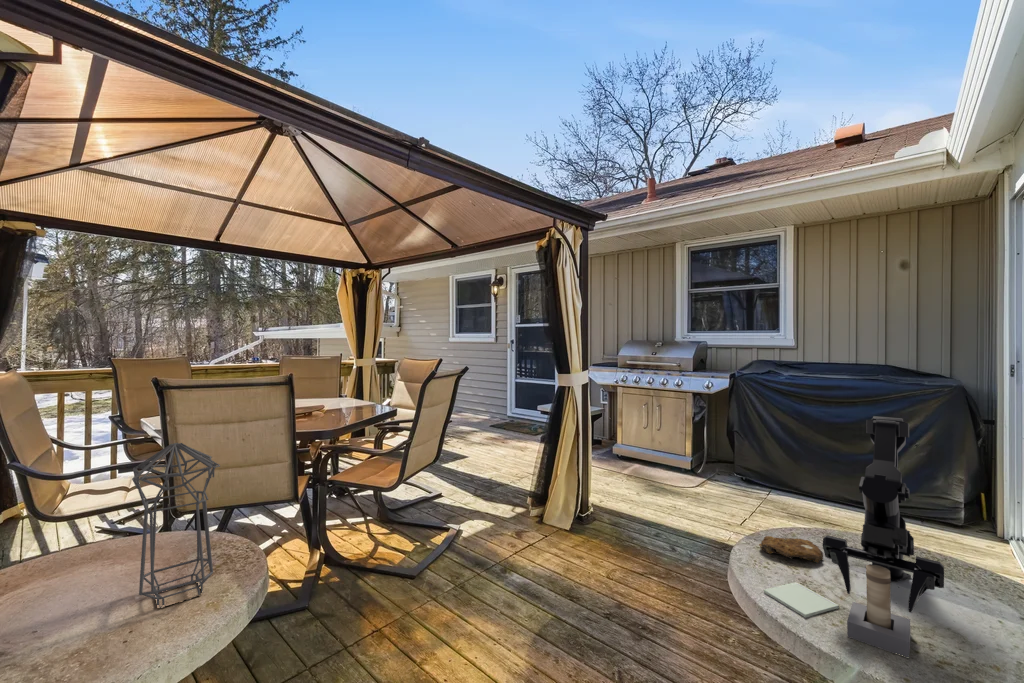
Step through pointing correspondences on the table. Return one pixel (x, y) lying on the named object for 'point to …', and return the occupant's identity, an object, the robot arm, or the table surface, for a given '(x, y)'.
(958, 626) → the table surface
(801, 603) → the mat
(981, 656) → the table surface
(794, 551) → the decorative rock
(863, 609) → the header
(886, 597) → the plug
